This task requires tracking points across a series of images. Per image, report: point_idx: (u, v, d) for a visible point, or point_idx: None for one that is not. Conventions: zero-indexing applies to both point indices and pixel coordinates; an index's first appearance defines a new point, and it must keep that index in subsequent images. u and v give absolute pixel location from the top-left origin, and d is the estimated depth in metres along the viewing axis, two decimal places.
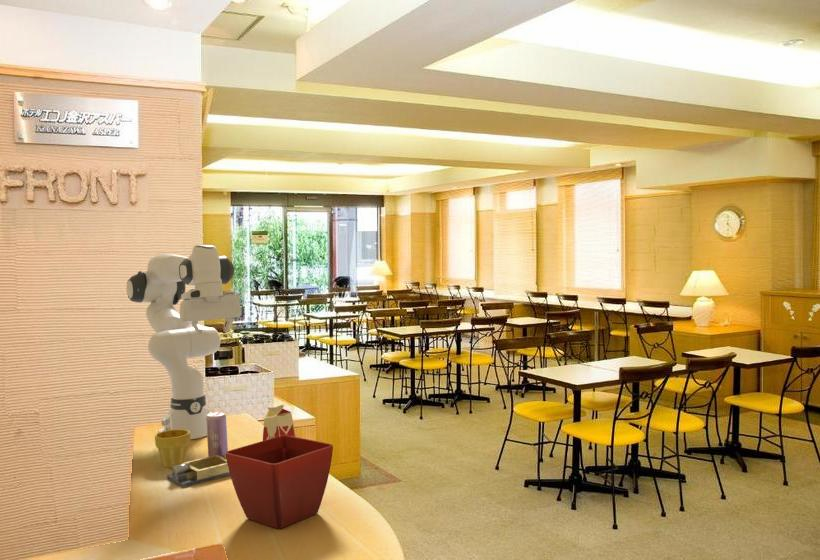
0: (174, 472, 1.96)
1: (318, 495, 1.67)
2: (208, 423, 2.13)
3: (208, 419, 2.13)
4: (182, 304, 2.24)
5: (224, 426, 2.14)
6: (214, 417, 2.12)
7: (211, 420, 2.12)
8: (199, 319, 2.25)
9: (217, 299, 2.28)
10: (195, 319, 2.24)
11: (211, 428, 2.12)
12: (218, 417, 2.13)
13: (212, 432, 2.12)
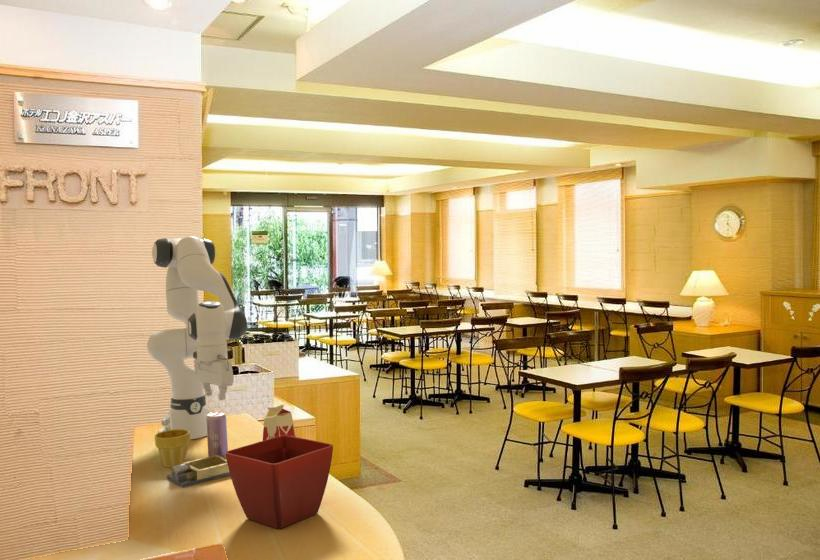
0: (174, 472, 1.96)
1: (318, 495, 1.67)
2: (208, 423, 2.13)
3: (208, 419, 2.13)
4: None
5: (224, 426, 2.14)
6: (214, 417, 2.12)
7: (211, 420, 2.12)
8: (202, 380, 2.17)
9: (207, 364, 2.11)
10: (200, 379, 2.18)
11: (211, 428, 2.12)
12: (218, 417, 2.13)
13: (212, 432, 2.12)
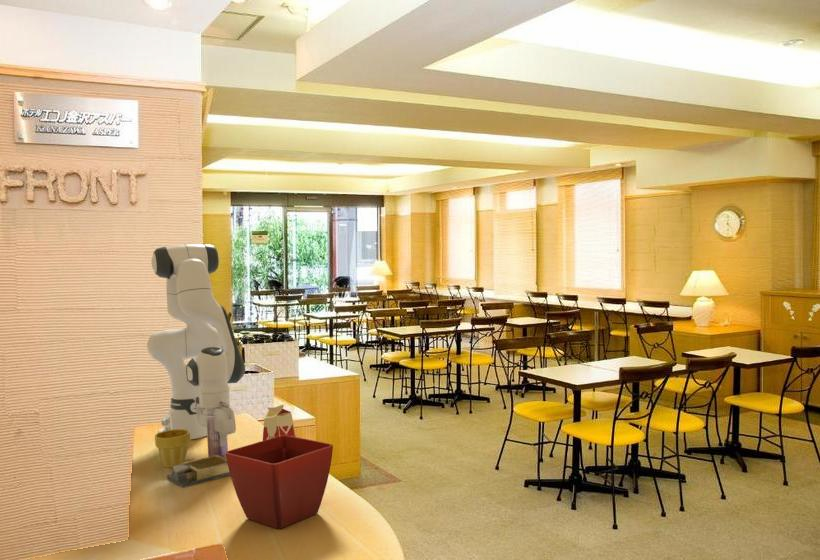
0: (174, 472, 1.96)
1: (318, 495, 1.67)
2: (208, 423, 2.13)
3: (208, 419, 2.13)
4: None
5: None
6: (214, 417, 2.12)
7: (211, 420, 2.12)
8: (204, 426, 2.18)
9: (209, 410, 2.12)
10: (202, 425, 2.19)
11: (211, 428, 2.12)
12: None
13: (212, 432, 2.12)
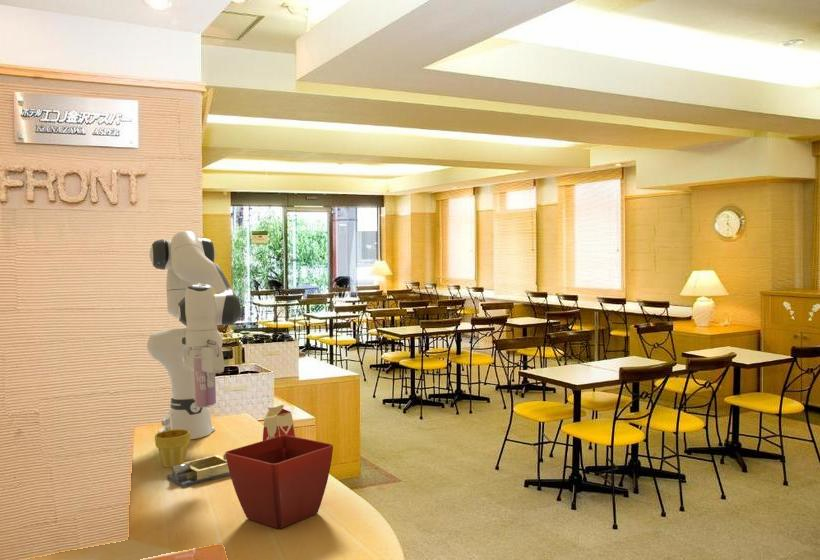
0: (174, 472, 1.96)
1: (318, 495, 1.67)
2: (195, 364, 2.00)
3: (195, 360, 2.00)
4: None
5: None
6: None
7: (198, 361, 2.00)
8: (191, 368, 2.05)
9: (196, 349, 2.00)
10: (189, 367, 2.06)
11: (198, 369, 2.00)
12: None
13: (199, 373, 2.00)
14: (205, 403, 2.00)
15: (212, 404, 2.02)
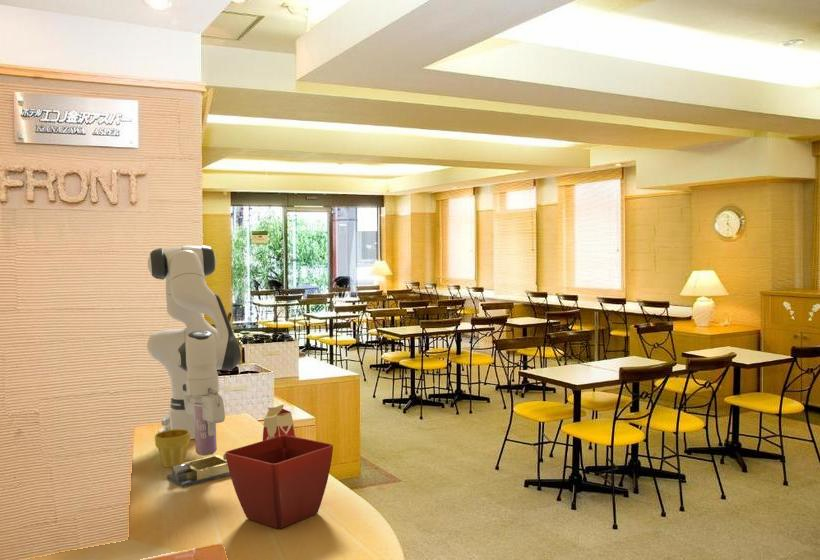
0: (174, 472, 1.96)
1: (318, 495, 1.67)
2: (196, 412, 2.00)
3: (196, 408, 2.00)
4: None
5: None
6: (202, 406, 1.99)
7: (199, 409, 1.99)
8: (192, 414, 2.05)
9: (197, 398, 1.99)
10: (190, 413, 2.06)
11: (198, 417, 1.99)
12: None
13: (200, 422, 1.99)
14: (205, 451, 2.00)
15: (213, 452, 2.01)
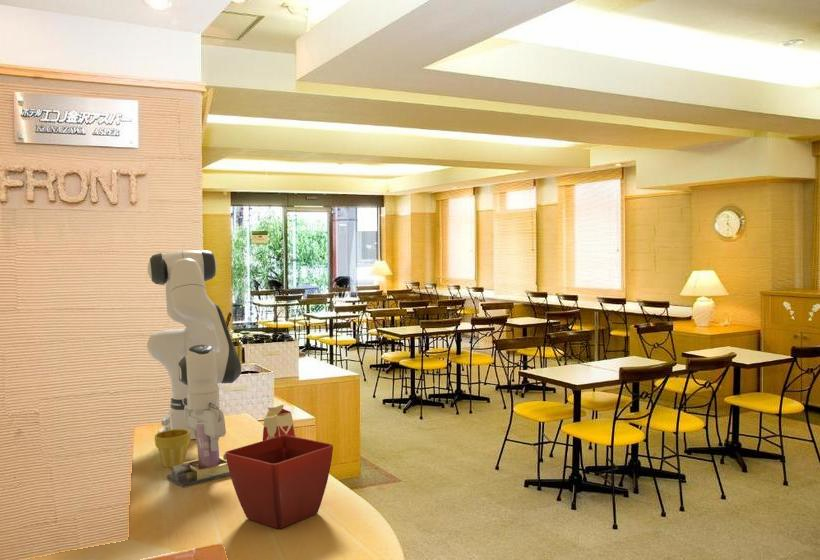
0: (174, 472, 1.96)
1: (318, 495, 1.67)
2: (198, 430, 1.99)
3: (197, 426, 1.99)
4: None
5: None
6: None
7: (201, 427, 1.99)
8: (193, 428, 2.05)
9: (197, 412, 1.99)
10: (191, 427, 2.06)
11: (200, 435, 1.99)
12: None
13: (202, 440, 1.99)
14: None
15: None
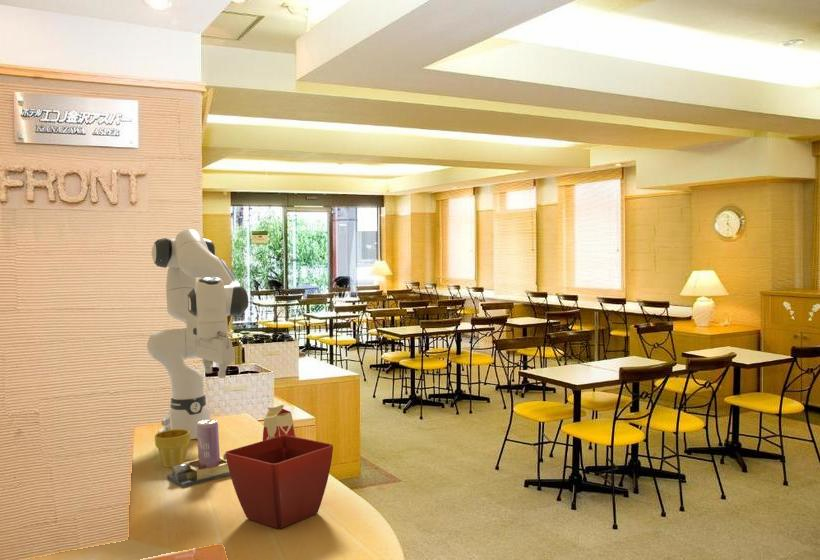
0: (174, 472, 1.96)
1: (318, 495, 1.67)
2: (199, 431, 1.99)
3: (199, 427, 1.99)
4: None
5: (216, 435, 2.00)
6: (205, 425, 1.98)
7: (202, 428, 1.98)
8: (202, 357, 2.13)
9: (207, 340, 2.07)
10: (200, 356, 2.14)
11: (201, 436, 1.98)
12: (209, 425, 1.99)
13: (203, 441, 1.98)
14: None
15: None
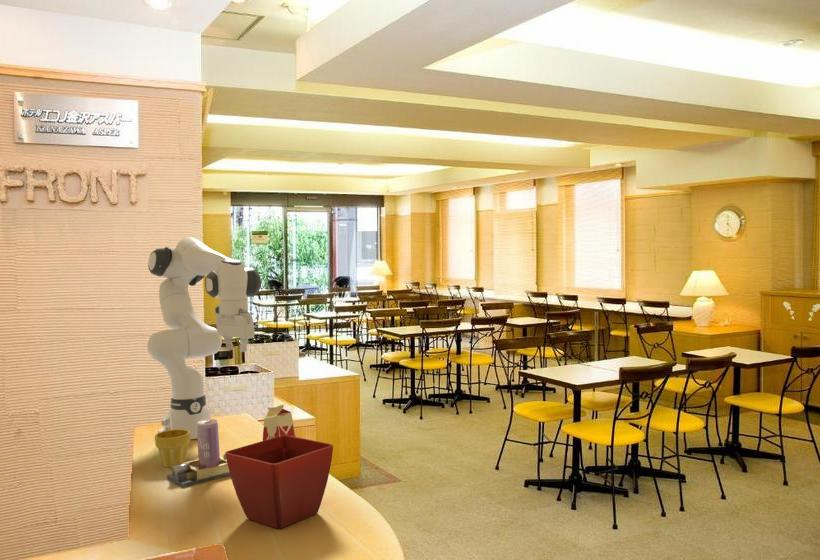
0: (174, 472, 1.96)
1: (318, 495, 1.67)
2: (199, 431, 1.99)
3: (199, 427, 1.99)
4: None
5: (216, 435, 2.00)
6: (205, 425, 1.98)
7: (202, 428, 1.98)
8: (224, 334, 2.28)
9: (229, 317, 2.23)
10: (222, 334, 2.29)
11: (201, 436, 1.98)
12: (209, 425, 1.99)
13: (203, 441, 1.98)
14: None
15: None
